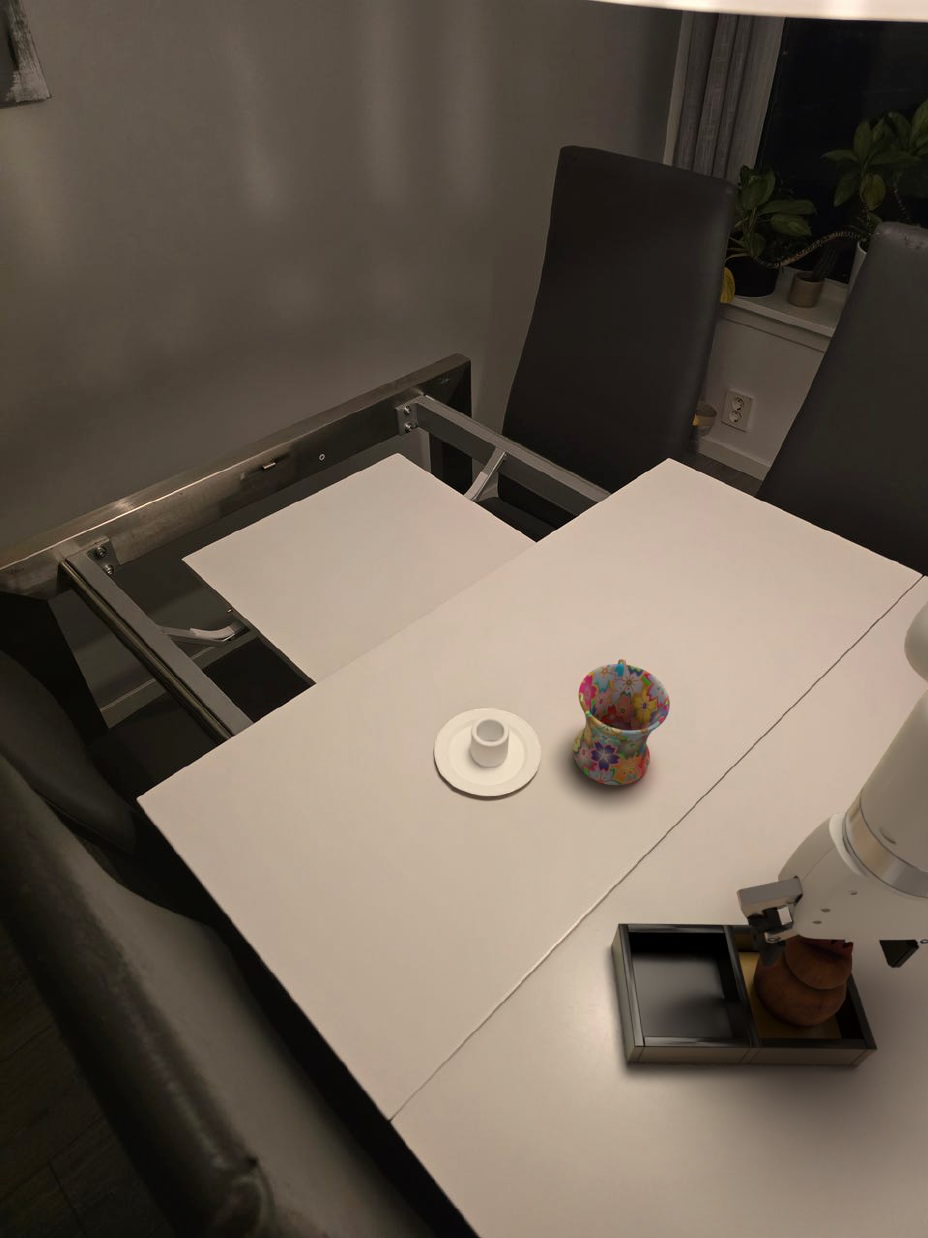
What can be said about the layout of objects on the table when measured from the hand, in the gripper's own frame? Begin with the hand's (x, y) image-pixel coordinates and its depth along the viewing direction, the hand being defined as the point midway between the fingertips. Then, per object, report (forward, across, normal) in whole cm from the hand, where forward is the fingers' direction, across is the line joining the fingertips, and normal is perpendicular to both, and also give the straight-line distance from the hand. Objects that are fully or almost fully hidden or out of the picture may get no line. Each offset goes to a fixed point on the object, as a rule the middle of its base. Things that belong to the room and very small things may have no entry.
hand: (824, 948), depth 61 cm
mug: (+12, +12, -28) cm, 32 cm away
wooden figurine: (+11, 0, 0) cm, 11 cm away
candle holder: (+12, +26, -26) cm, 39 cm away
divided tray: (+12, +5, 0) cm, 13 cm away
